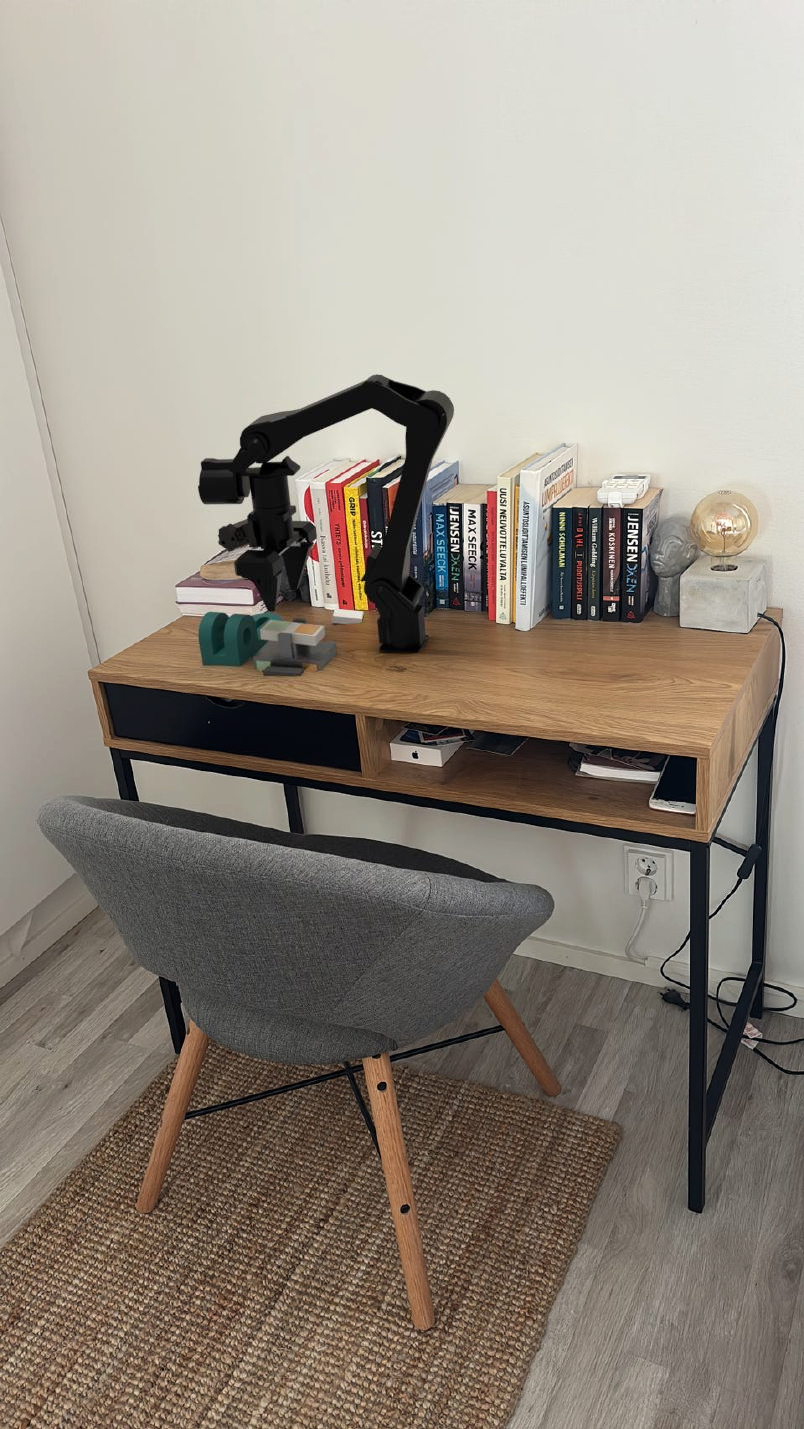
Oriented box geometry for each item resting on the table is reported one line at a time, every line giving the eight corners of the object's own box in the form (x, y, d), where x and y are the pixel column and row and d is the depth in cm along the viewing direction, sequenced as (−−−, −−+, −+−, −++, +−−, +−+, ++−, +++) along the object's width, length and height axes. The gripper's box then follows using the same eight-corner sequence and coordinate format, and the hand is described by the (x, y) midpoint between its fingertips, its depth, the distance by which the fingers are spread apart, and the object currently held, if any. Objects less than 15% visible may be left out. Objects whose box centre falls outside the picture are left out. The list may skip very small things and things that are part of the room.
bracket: (240, 671, 181) (234, 624, 177) (203, 667, 183) (195, 621, 179) (290, 626, 195) (284, 583, 192) (254, 624, 198) (248, 580, 194)
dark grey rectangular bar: (305, 679, 176) (303, 668, 175) (300, 684, 174) (299, 673, 173) (268, 676, 177) (267, 666, 177) (264, 681, 176) (262, 671, 175)
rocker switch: (326, 634, 178) (325, 624, 178) (314, 647, 174) (314, 636, 174) (272, 628, 181) (271, 617, 180) (259, 640, 177) (259, 629, 176)
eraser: (361, 618, 193) (363, 611, 196) (332, 615, 193) (335, 608, 196) (361, 625, 193) (363, 618, 196) (332, 622, 193) (334, 615, 196)
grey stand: (337, 659, 181) (333, 619, 178) (321, 679, 175) (316, 638, 172) (273, 655, 184) (268, 616, 181) (255, 674, 178) (249, 634, 175)
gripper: (248, 484, 184) (260, 577, 191) (195, 520, 168) (210, 620, 175) (313, 486, 181) (322, 580, 188) (265, 523, 165) (277, 624, 172)
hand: (283, 600), depth 181 cm, fingers open, 9 cm apart
